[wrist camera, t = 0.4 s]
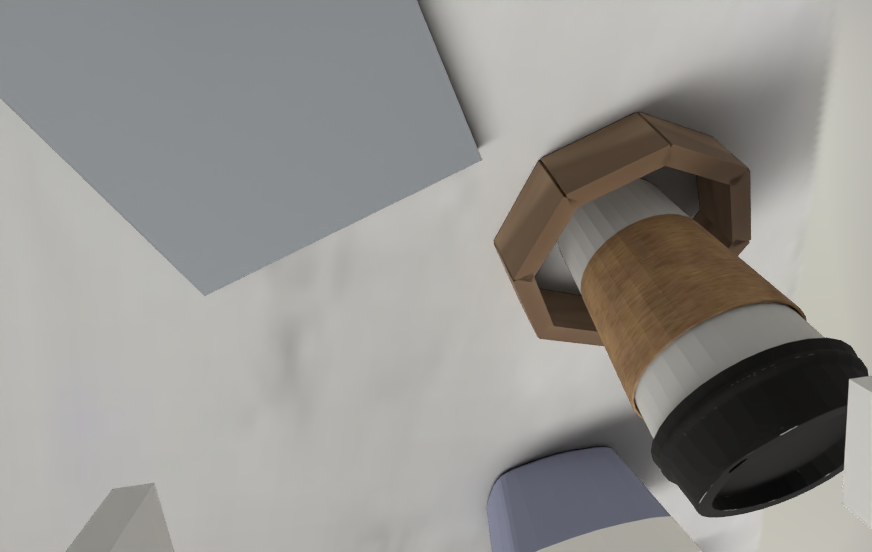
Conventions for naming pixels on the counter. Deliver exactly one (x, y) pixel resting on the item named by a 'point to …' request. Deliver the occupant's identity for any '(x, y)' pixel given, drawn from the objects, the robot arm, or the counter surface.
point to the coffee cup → (709, 354)
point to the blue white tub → (580, 508)
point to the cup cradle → (598, 175)
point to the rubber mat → (236, 116)
